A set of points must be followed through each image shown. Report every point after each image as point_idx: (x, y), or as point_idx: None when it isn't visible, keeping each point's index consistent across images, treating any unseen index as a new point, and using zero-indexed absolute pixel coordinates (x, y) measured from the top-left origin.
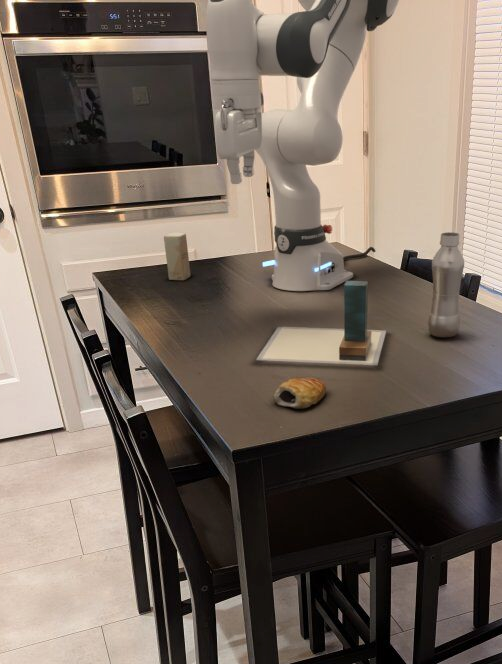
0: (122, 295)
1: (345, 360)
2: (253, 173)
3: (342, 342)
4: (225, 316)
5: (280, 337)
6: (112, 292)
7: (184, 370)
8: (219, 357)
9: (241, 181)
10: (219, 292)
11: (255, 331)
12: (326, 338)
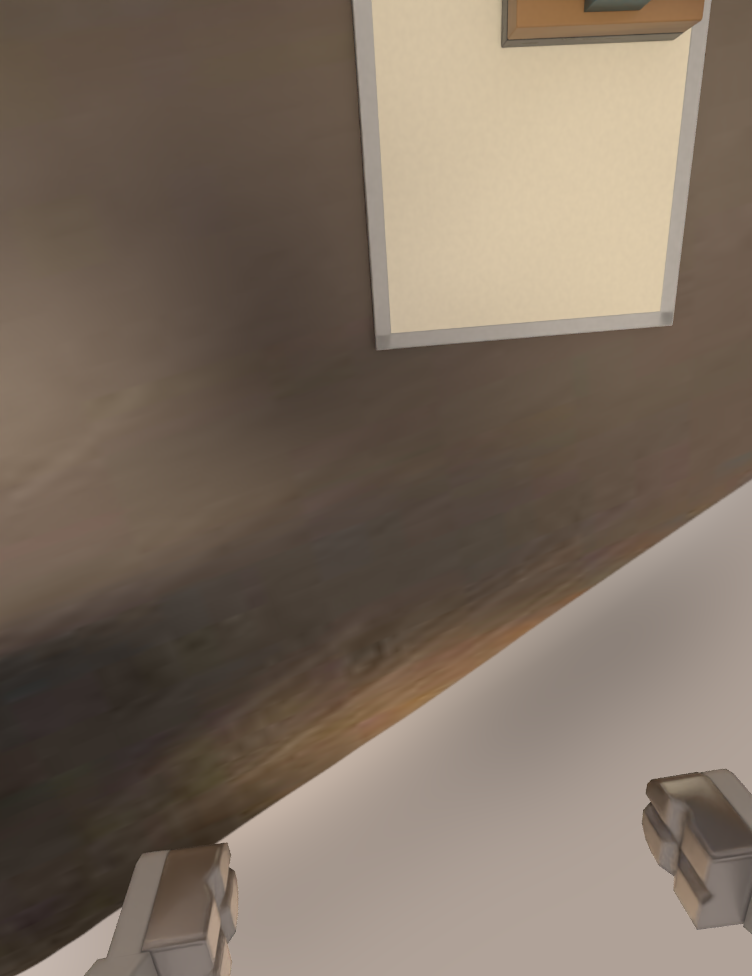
0: None
1: None
2: (145, 865)
3: (656, 15)
4: (276, 550)
5: (479, 310)
6: None
7: (703, 487)
8: (615, 439)
9: (655, 782)
10: (39, 657)
11: (395, 417)
12: (470, 140)
